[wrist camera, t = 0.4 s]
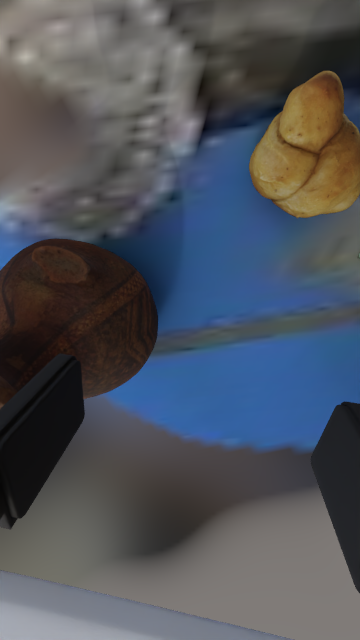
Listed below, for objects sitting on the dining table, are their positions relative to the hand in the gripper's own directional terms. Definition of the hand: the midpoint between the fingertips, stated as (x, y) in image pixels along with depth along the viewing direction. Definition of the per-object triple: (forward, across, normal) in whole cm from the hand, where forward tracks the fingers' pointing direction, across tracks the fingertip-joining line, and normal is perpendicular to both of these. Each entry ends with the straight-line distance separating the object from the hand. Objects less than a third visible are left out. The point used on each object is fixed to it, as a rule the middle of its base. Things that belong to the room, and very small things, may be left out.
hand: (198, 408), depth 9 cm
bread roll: (+29, -9, -11) cm, 32 cm away
